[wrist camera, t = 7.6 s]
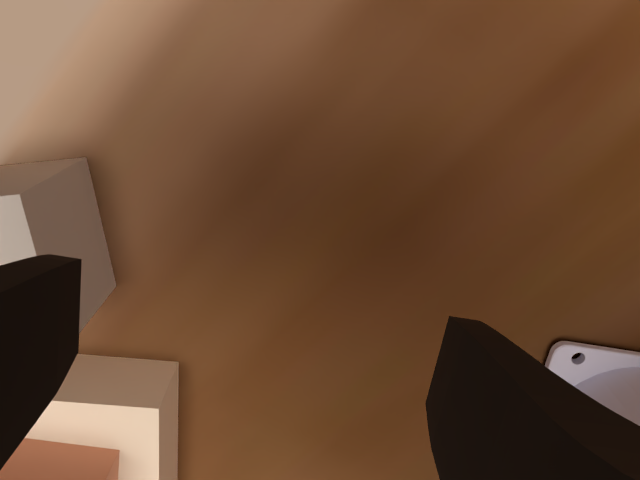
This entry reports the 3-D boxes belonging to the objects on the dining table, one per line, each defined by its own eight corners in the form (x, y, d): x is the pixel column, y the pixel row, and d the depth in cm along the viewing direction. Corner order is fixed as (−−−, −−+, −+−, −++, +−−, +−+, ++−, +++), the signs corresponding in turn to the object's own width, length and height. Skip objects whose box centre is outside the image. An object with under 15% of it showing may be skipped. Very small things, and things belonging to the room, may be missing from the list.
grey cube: (87, 156, 21) (19, 194, 16) (117, 285, 23) (63, 353, 18) (-51, 169, 21) (-157, 211, 17) (-11, 296, 23) (-97, 366, 18)
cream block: (180, 356, 24) (158, 408, 21) (179, 511, 27) (159, 578, 24) (-19, 340, 24) (-73, 391, 21) (-1, 498, 27) (-46, 564, 23)
